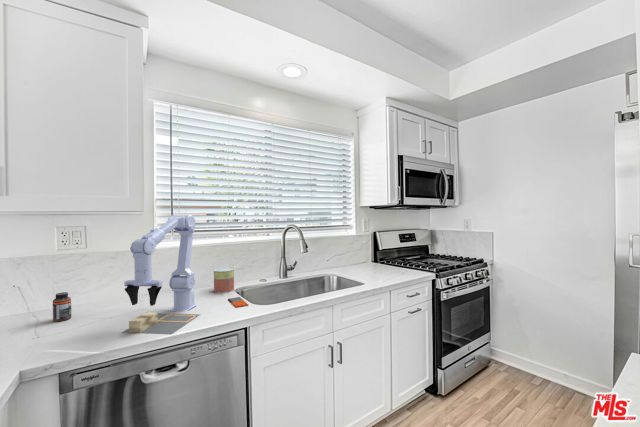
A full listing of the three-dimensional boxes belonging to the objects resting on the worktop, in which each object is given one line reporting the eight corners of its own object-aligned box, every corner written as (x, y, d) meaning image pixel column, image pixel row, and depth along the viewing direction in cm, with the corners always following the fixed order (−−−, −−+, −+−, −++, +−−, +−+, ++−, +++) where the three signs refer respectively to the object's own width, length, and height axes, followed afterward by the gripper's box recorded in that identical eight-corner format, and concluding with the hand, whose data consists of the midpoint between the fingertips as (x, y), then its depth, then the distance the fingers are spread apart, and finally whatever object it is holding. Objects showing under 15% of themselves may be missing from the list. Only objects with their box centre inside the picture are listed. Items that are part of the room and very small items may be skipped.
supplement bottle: (53, 319, 127) (52, 293, 126) (71, 316, 130) (71, 290, 130) (52, 323, 122) (52, 296, 122) (71, 319, 126) (71, 293, 126)
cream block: (147, 322, 121) (147, 312, 121) (157, 322, 120) (157, 312, 120) (129, 332, 111) (128, 321, 111) (140, 332, 110) (140, 321, 110)
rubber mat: (157, 314, 132) (157, 312, 132) (200, 315, 129) (200, 314, 129) (121, 333, 111) (121, 332, 111) (171, 335, 109) (171, 334, 109)
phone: (235, 306, 140) (227, 298, 153) (235, 309, 140) (227, 300, 153) (248, 304, 143) (240, 296, 156) (248, 306, 143) (240, 299, 156)
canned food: (218, 287, 177) (218, 267, 177) (236, 287, 177) (236, 267, 177) (210, 292, 166) (210, 271, 166) (230, 292, 166) (230, 271, 166)
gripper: (118, 271, 112) (118, 307, 112) (153, 272, 111) (154, 308, 111) (131, 268, 119) (132, 301, 119) (165, 268, 118) (166, 302, 118)
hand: (143, 304), depth 116 cm, fingers open, 7 cm apart
